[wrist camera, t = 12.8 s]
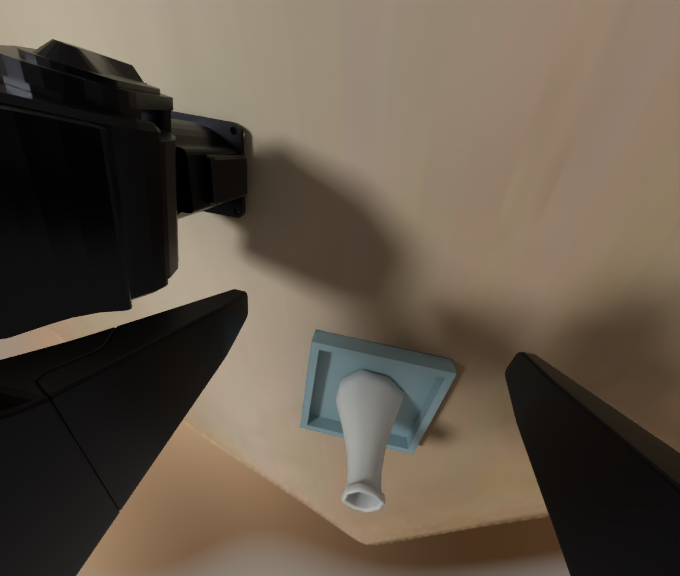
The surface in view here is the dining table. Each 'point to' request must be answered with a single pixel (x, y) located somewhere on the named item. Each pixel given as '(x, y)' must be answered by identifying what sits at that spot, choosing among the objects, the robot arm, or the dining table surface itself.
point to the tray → (398, 364)
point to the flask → (366, 434)
